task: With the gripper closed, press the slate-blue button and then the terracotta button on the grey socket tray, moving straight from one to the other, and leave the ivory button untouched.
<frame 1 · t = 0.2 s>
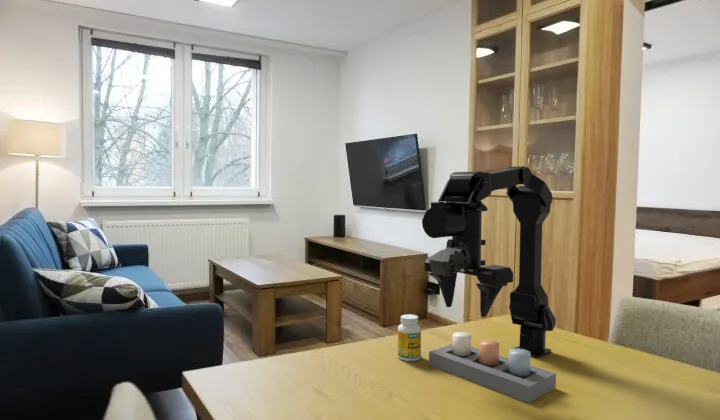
hand: (465, 311, 96), 14 cm above the table, tool pointing down, fingers open, 9 cm apart
supplement bottle: (409, 358, 109), on the table
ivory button: (461, 343, 104), point 5 cm above the table, slide at 0.0 cm
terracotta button: (489, 352, 99), point 5 cm above the table, slide at 0.0 cm
grey socket tray: (488, 376, 99), on the table
slate button: (519, 361, 93), point 5 cm above the table, slide at 0.0 cm
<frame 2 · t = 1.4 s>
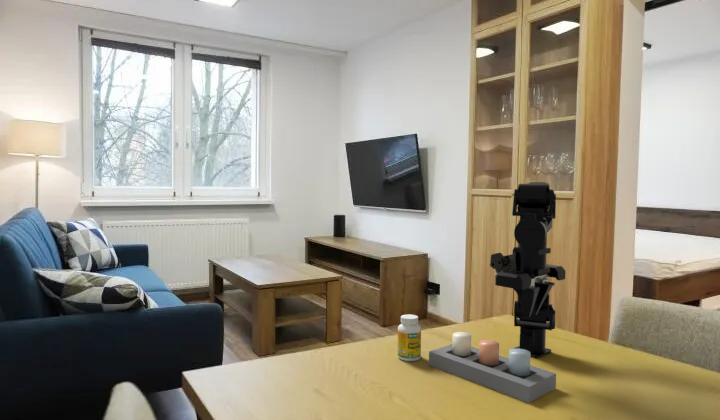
hand: (530, 315, 101), 12 cm above the table, tool pointing down, fingers closed
nothing on the table moved.
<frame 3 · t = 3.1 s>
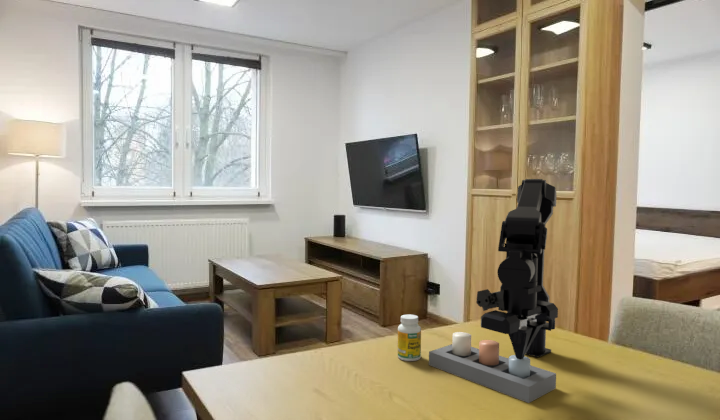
hand: (519, 358, 93), 6 cm above the table, tool pointing down, fingers closed, pressing on slate button
slate button: (519, 368, 93), point 4 cm above the table, slide at 1.3 cm, touching gripper
everything else where it was.
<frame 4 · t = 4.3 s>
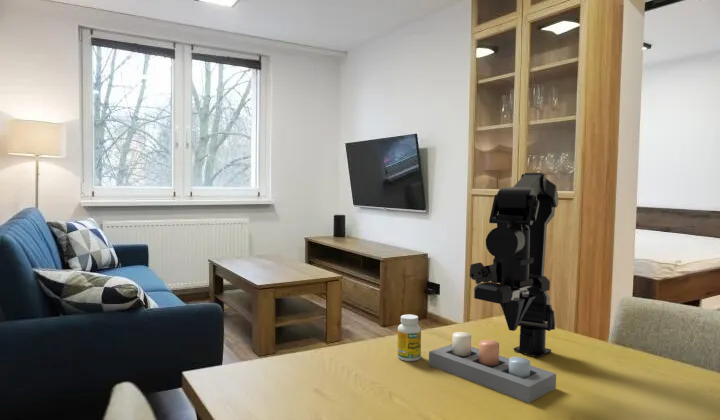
hand: (512, 330, 95), 11 cm above the table, tool pointing down, fingers closed
slate button: (519, 370, 94), point 3 cm above the table, slide at 1.7 cm
everything else where it was.
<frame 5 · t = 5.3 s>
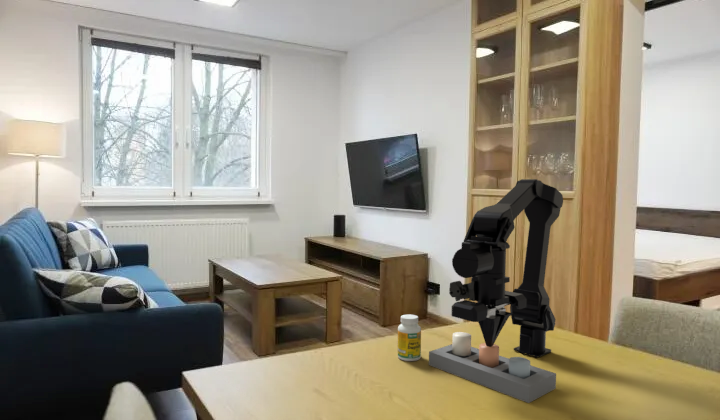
hand: (489, 346, 99), 6 cm above the table, tool pointing down, fingers closed, pressing on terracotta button
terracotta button: (488, 355, 99), point 4 cm above the table, slide at 0.7 cm, touching gripper
everything else where it was.
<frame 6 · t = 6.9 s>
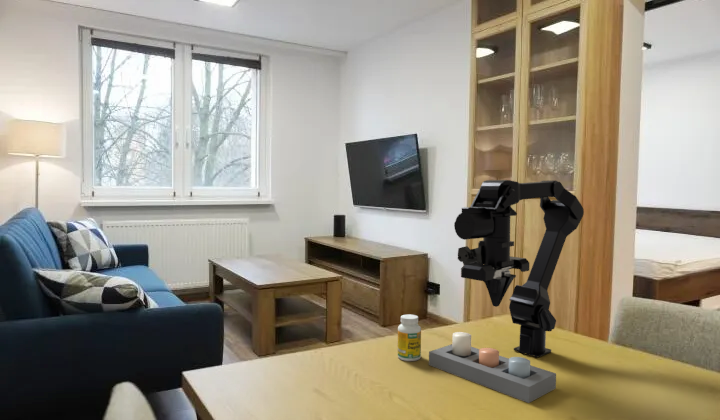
hand: (495, 306, 106), 13 cm above the table, tool pointing down, fingers closed
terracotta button: (488, 360, 99), point 3 cm above the table, slide at 1.7 cm
everything else where it was.
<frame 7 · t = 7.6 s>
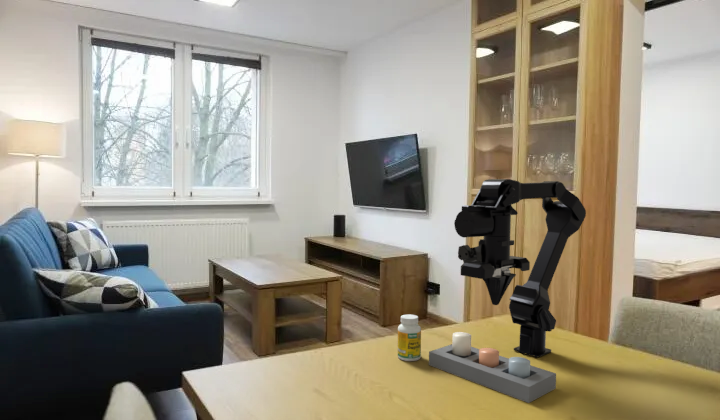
hand: (495, 304, 107), 13 cm above the table, tool pointing down, fingers closed
nothing on the table moved.
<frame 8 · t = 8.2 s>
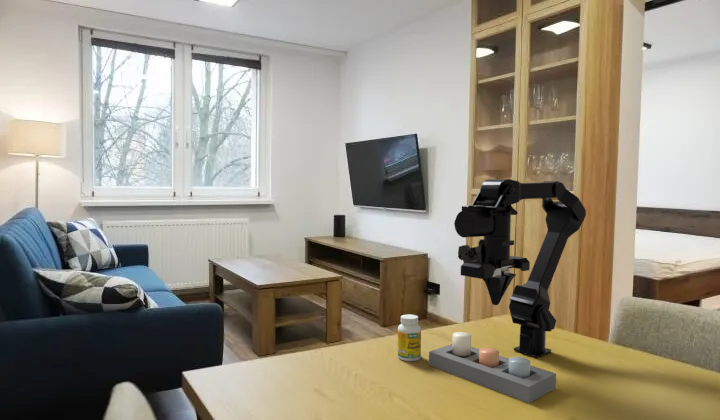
hand: (495, 304, 107), 13 cm above the table, tool pointing down, fingers closed
nothing on the table moved.
at the end: slate button slide at 1.7 cm; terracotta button slide at 1.7 cm; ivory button slide at 0.0 cm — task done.
